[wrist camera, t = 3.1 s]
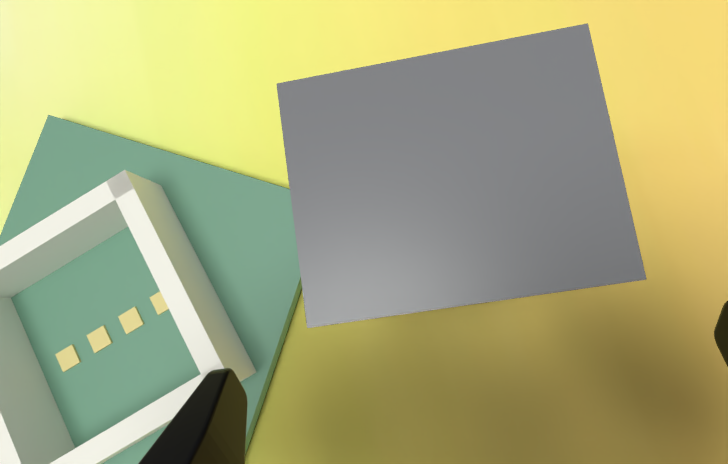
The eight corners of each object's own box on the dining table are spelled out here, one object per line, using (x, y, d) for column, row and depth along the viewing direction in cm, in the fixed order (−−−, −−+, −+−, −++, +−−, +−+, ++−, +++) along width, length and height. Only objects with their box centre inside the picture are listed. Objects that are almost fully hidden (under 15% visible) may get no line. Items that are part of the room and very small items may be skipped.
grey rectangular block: (504, 290, 19) (645, 279, 7) (377, 308, 19) (307, 328, 7) (483, 175, 19) (579, -12, 8) (360, 196, 20) (272, 50, 8)
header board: (330, 204, 20) (312, 186, 17) (205, 572, 19) (160, 629, 15) (62, 121, 22) (-1, 90, 19) (-69, 448, 21) (-160, 476, 17)
